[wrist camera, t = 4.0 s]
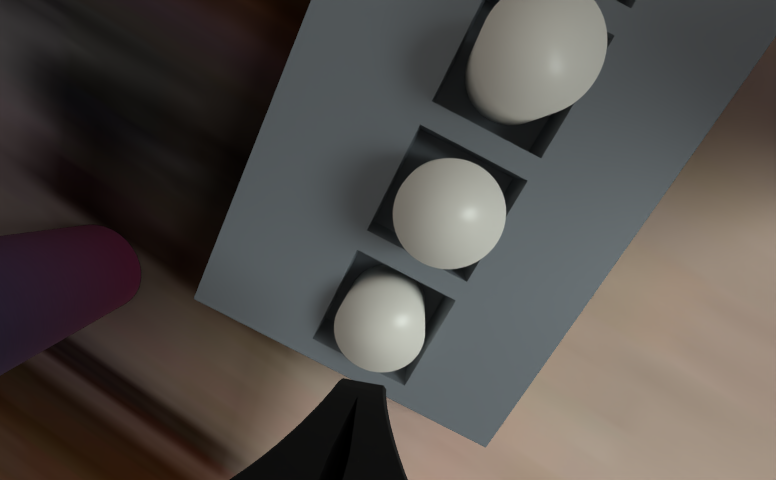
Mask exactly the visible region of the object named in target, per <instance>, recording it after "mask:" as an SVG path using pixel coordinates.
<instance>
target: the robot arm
mask: <svg viewBox="0 0 776 480" xmlns="http://www.w3.org/2000/svg"><path fill="white" fill-rule="evenodd" d="M230 480H408V479H407V477H406V474H405V471H404V469H403V466H402V463H401V460H400V457H399V454H398V451H397V447H396V444H395V440H394V437H393V433H392V429H391V425H390V420H389V415H388V409H387V401H386V388H385V387H384V385H379V384H373V383H367V382H361V381H355V380H349V379H344V378H343V379H341V380H340V381H339V382H338V383H337V384H336V385H335V387H334V388H333V389H332V390H331V392H330V393H329V394H328V395H327V396H326V397H325V398H324V400H323V401H322V402H321V403H320V404H319V405H318V406H317V407H316V408H315V409H314V410H313V411H312V412H311V413H310V414H309V415H308V416H307V417H306V418H305V419H304V420H303V421H302V422H301V423H300V424H299V425H298V426H297V427H296V428H295V429H294V430H293V431H291V432H290V433H289V434H288V435H287V436H286V437H285V438H284V439H283V440H281V441H280V442H279V443H278V444H277V445H276V446H274V447H273V448H272V449H271V450H269V451H268V452H267V453H266V454H264V455H263V456H262V457H261V458H259V459H258V460H257V461H255V462H254V463H253V464H251V465H250V466H249V467H247V468H246V469H244V470H243V471H241V472H240V473H238V474H237V475H236V476H234V477H233V478H231V479H230Z"/></svg>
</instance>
